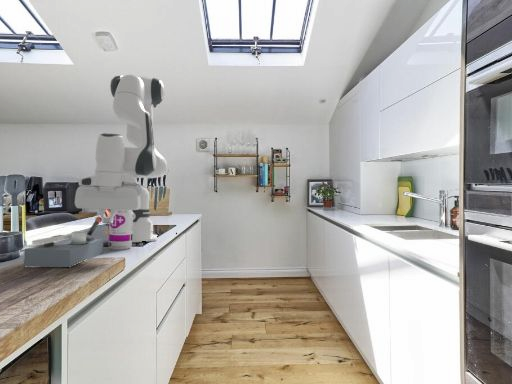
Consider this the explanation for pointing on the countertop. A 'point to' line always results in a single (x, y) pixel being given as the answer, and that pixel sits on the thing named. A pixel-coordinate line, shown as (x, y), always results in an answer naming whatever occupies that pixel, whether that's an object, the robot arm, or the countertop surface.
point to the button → (78, 237)
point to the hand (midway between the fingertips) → (107, 223)
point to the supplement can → (121, 230)
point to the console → (62, 253)
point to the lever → (94, 225)
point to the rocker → (48, 239)
